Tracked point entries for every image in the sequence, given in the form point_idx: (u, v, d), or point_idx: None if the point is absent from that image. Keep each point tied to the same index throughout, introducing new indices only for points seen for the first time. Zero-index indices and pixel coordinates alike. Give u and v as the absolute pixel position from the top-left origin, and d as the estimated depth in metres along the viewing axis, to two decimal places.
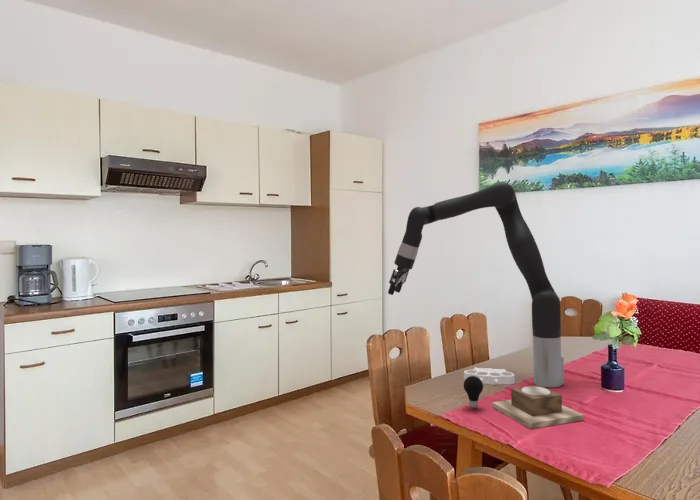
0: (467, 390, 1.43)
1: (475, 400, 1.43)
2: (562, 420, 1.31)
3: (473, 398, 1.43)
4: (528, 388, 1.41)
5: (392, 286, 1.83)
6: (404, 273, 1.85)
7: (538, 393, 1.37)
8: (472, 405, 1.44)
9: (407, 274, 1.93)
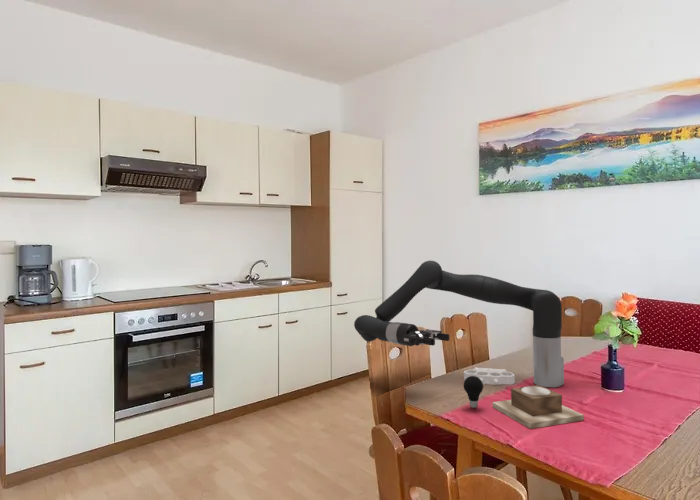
0: (467, 390, 1.43)
1: (475, 400, 1.43)
2: (562, 420, 1.31)
3: (473, 398, 1.43)
4: (528, 388, 1.41)
5: (423, 340, 1.50)
6: (415, 331, 1.57)
7: (538, 393, 1.37)
8: (472, 405, 1.44)
9: (432, 330, 1.62)
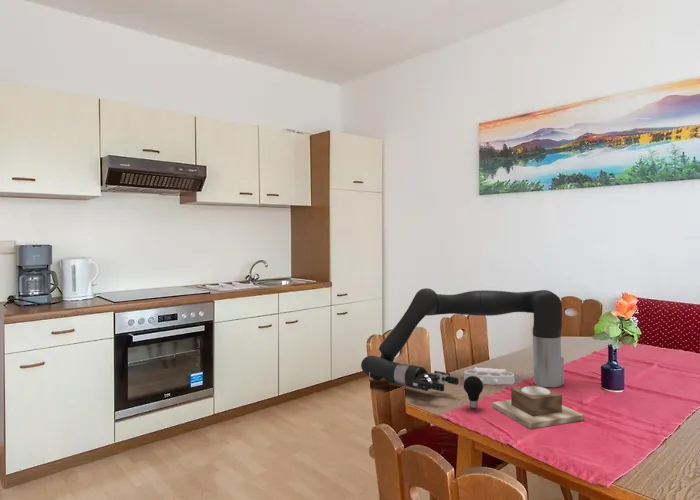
0: (467, 390, 1.43)
1: (475, 400, 1.43)
2: (562, 420, 1.31)
3: (473, 398, 1.43)
4: (528, 388, 1.41)
5: (432, 386, 1.48)
6: (424, 374, 1.55)
7: (538, 393, 1.37)
8: (472, 405, 1.44)
9: (440, 372, 1.60)
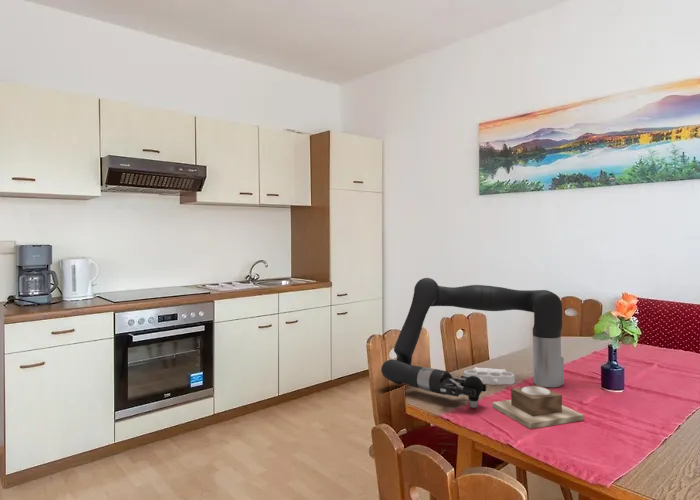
0: None
1: (475, 400, 1.43)
2: (562, 420, 1.31)
3: (473, 398, 1.43)
4: (528, 388, 1.41)
5: (463, 391, 1.42)
6: (449, 379, 1.48)
7: (538, 393, 1.37)
8: (472, 405, 1.44)
9: (467, 377, 1.53)
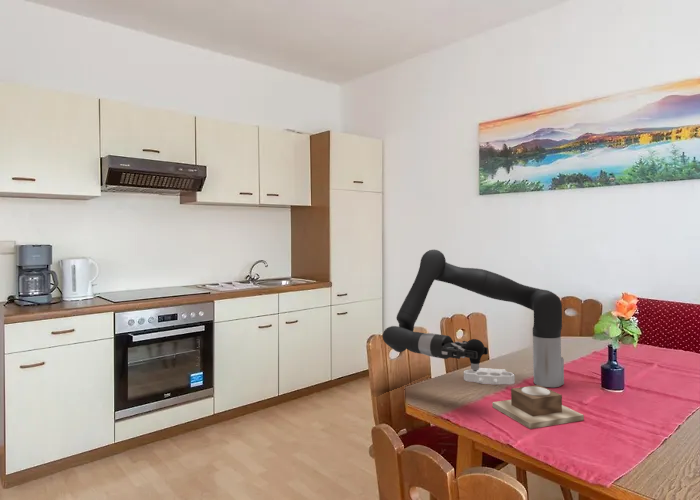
0: None
1: (476, 363, 1.43)
2: (562, 420, 1.31)
3: (474, 361, 1.43)
4: (528, 388, 1.41)
5: (465, 353, 1.42)
6: (451, 343, 1.48)
7: (538, 393, 1.37)
8: (473, 368, 1.43)
9: None
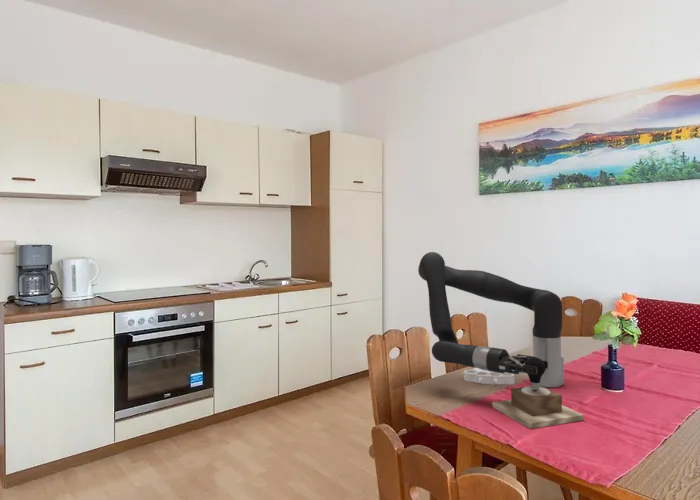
0: None
1: (537, 382, 1.38)
2: (562, 420, 1.31)
3: (535, 380, 1.37)
4: (528, 388, 1.41)
5: (523, 369, 1.36)
6: (509, 357, 1.43)
7: (538, 393, 1.37)
8: (534, 387, 1.38)
9: (524, 355, 1.48)
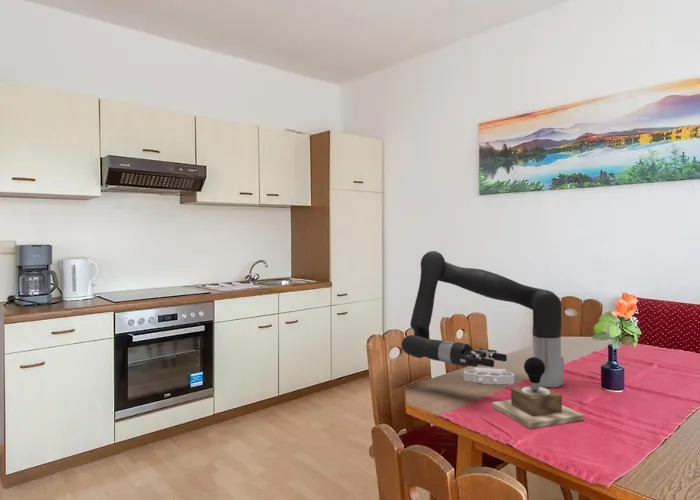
0: (529, 371, 1.37)
1: (537, 382, 1.38)
2: (562, 420, 1.31)
3: (535, 380, 1.37)
4: (528, 388, 1.41)
5: (481, 362, 1.45)
6: (470, 351, 1.52)
7: (538, 393, 1.37)
8: (533, 387, 1.38)
9: (486, 349, 1.57)
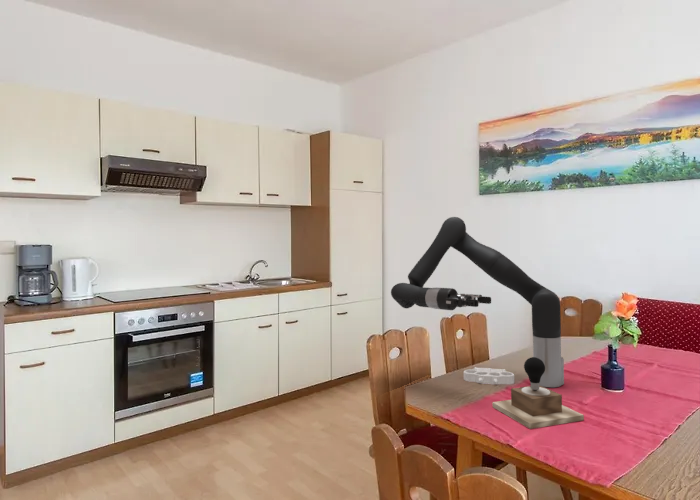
0: (529, 371, 1.37)
1: (537, 382, 1.38)
2: (562, 420, 1.31)
3: (535, 380, 1.37)
4: (528, 388, 1.41)
5: (466, 302, 1.50)
6: (456, 294, 1.57)
7: (538, 393, 1.37)
8: (533, 387, 1.38)
9: None
